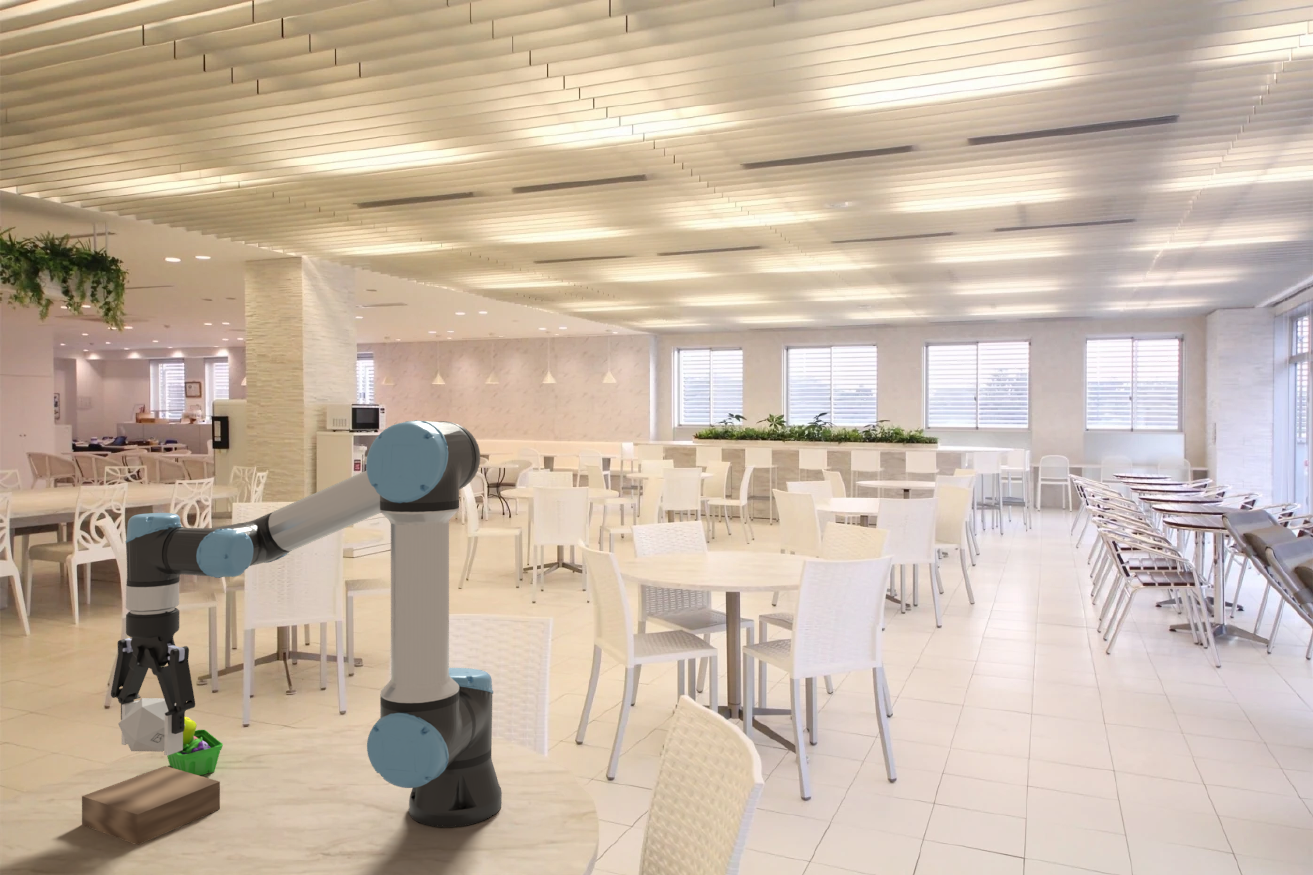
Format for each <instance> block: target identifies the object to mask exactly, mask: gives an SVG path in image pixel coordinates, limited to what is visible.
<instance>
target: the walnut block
mask: <svg viewBox="0 0 1313 875" xmlns="http://www.w3.org/2000/svg"><path fill="white" fill-rule="evenodd" d="M220 793H221V781H219V780H216V779H213V778H208V777H204V776H203V775H200V776H199V775H195V774H192V773H188V772H185V771H181V770H178V769H174V768H173V767H171V766H166V765H164V766H162V767H159V768H156V769H154V770H150V771H148V772H144V773H142V774H139V775H137V776H133V777H132V778H128V779H125V780H123V781H120V782H118V783H114V784H112V785H110V786H106V787H104V788H99V789H98V790H95V791H92V792H90V793H87V794H84V795H81V826H83V825H84V826H83V827H86V828H90V829H92V830H95V831H98V832H100V833H104V834H106V835H109V836H112V837H114V838H118V839H120V840H123V841H126V842H128V843H131V844H134V845H137V846H138V845H140V844H143V843H145V842H148V841H150V840H152V839H154V838H157V837H160V836H161V835H163V834H166V833H168V832H170V831H174V830H175V829H177V828H179V827H180V828H181V827H183V826H185V825H186V824H189V823H191V822H193V821H196V820H198V819H201V818H204V817H206V816H208V815H210V814H212V813H214V812H217V811H220V810H221V809H220V808H221V801H220V800H221V794H220Z"/></svg>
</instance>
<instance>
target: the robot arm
mask: <svg viewBox="0 0 1313 875" xmlns="http://www.w3.org/2000/svg"><path fill="white" fill-rule="evenodd" d="M365 462H366V464H365V469H366V470H365V471H363V472H360V473H358V474H355V475H353V476H351V477H349V478H346V479H344V480H342V481H339V482H337V483H335V484H332V485H331V486H328V487H326V488H323V489H322V490H321V489H320V490H318V491H317V492H314V493H313V494H310V495H308V496H305V497H303V498H301V499H299V500H296V501H294V502H292V503H289V504H287V505H285V506H283V507H280V508H278V509H276V510H274V511H272V512H269V513H267V514H264V515H263V516H260V517H258V518H256V519H252V520H249V521H245V522H238V523H233V524H229V525H227V524H226V525H221V526H215V527H205V528H203V527H200V528H199V527H198V528H197V527H183V526H182V524H181V517H180V515H178V514H177V513H173V512H153V513H152V512H150V513H140V514H135V515H132V516H131V517H130V518H129V519H128V521H127V526H126V527H127V530H126V540H125V547H126V548H125V549H126V554H125V555H126V584H125V585H126V586H125V590H126V591H125V609H126V610H128V612H127V614H125V633H126V635H127V636H128V638H123V639H120V640H117V658H116V663H115V664H116V665H115V669H114V674H113V679H112V685H111V689H110V690H111V691H110V696H111V698H113V699H117V701H118V703H119V704H120V721H121V720H122V719H123V718H124V717H125V716H126V715H127V714H128V713H129V712H130V710H131V709H132V708H133V707H134V706H135V705H136V704H137V703H138V702H139V701H140V700H141V698H142V696H140V694H139V693H140V690H141V688H142V686H143V683H144V681H145V678H146V676H147V673H148V670H149V669H150V670H151V672H152V674H153V675H154V676H156V679H157V680H158V684H159V687H160V689H161V693H162V695H163V698H164V699H165V702H166V705H167V708H168V712H166V713H165V724H164V751H163V753H164V754H163V755H164V756H168V755H171V754H173V753H176V752H179V751H181V750H183V731H184V728H185V723H184V722H185V717H186V716H185V714H186V711H188V710H190V709H193V708H195V707H196V700H195V693H194V689H193V680H192V676H191V675H192V674H191V670H190V664H189V654H190V649H189V646H187V645H184V646H181V647H180V646H177V645H176V643H175V640H174V636H175V634H176V633H177V632H178V631H179V630H180V610H179V609H178V608H177V607H178V606H179V605H180V576H182V575H184V576H185V575H186V576H196V577H197V576H200V577H201V576H202V577H210V578H216V579H217V578H218V579H221V578H230V577H231V578H234V577H238V576H241V575H243V574H244V573H245V571H246V570H247V569H249V567H252V566H255V565H259V564H263V563H265V564H267V563H268V564H269V563H272V562H275V561H277V560H279V559H282V558H284V557H285V556H287V555H289V553H290V552H291V551H294V550H297V549H299V548H302V547H304V546H306V545H308V544H311V543H313V542H316V541H318V540H320V539H322V538H323V539H324V538H325V537H328V536H329V535H332V534H335V533H337V532H339V531H341V530H344V529H346V528H348V527H350V526H354V525H355V524H358V523H360V522H362V521H364V520H365V521H366V520H367V519H369V518H371V517H375V516H376V515H379V514H382V515H383V516H384V517H385V518H386V519H387V520H388V521H389V523H390V680H389V681H388V682H387V683H386V684H385V685H384V686H383V687H382V689H381V690H380V696H379V697H380V698H379V699H380V705H379V706H380V707H379V708H380V709H379V710H380V714H379V716H380V718H379V719H378V720H377V721H376V722H375V724H374V725H373V726H372V728H371V730H370V731H369V734H368V737H367V741H366V751H367V757H368V760H369V762H370V764H371V766H372V767H373V769H374V771H375V772H376V773H377V774H379V775H380V776H381V777H382V779H383V780H384V781H386V782H387V783H388V784H391V785H393V786H396V787H399V788H403V789H411V791H410V794H409V800H408V812H409V813H408V814H409V816H410V818H412V819H413V820H414V821H415V822H418V823H419V824H423V825H425V826H430V827H437V828H454V827H456V828H457V827H464V826H468V825H469V826H470V825H474V824H477V823H480V822H484V821H485V820H487V818H488V819H490V818H491V817H493V816H494V815H496V814H497V813H498V812H499V811H500V810H501V807H502V805H503V804H502V802H503V801H502V793H503V792H502V787H501V785H500V783H499V780H498V776H497V772H496V770H495V769H496V768H495V766H494V764H493V763H494V762H493V759H492V745H493V744H492V740H493V738H492V735H493V694H494V690H493V680H492V676H491V674H489V672H487V671H486V670H483V669H482V670H481V669H478V668H467V667H450V520H451V518H453V516H454V515H456V514H457V512H458V511H459V510H460V490H461V489H463V488H465V487H467V485H468V484H470V483H471V482H472V480H473V479H474V478H475V477H476V475H477V473H478V471H479V468H480V465H481V451H480V447H479V444H478V442H477V439H476V438H475V436H474V435H473V434H472V433H471V432H470V431H469V430H468V429H467V428H465V426H462V425H461V424H457V423H456V422H452V421H446V420H445V421H442V420H440V421H430V420H429V421H427V420H417V419H415V420H408V421H407V420H406V421H403V422H399V423H396V424H392V425H390V426H388V427H387V428H385V429H384V430H382V432H380V433H379V435H378V436H376V437H375V439H374V440H373V441H372V443H371V445H370V447H369V450H368V453H367V456H366V461H365ZM138 699H139V700H138ZM175 704H176V705H175ZM121 745H123V746H127V745H128V743H127V741H126V739H125V737H124V735H123V733H122V732H121ZM492 815H493V816H492ZM490 816H491V817H490ZM489 817H490V818H489Z"/></svg>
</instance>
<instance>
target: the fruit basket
mask: <svg viewBox="0 0 1313 875" xmlns="http://www.w3.org/2000/svg"><path fill="white" fill-rule="evenodd" d="M184 723H185V728H184V731H183V750H181V751H179V752H176V753H173V754H171V755H168V756H167V755H166V756H167V760H168V761H167V762H168V763H169V764H168V765H169V767H171V768H174V769H178V770H181V771H185V772H188V773H192V774H195V775H199V776H203V775H206V774H209V773H211V774H212V773H214V772H215V771H216V768H217V763H218V760H219V758H220V757H219V756H220V754H221V751H222V749H223V745H224V744H223V742H221V741H220V740H218V739H217V738H216V737H215V736H214V735H212V734H211V733H210V732H208V730H206V729H197V727H198V726H197V725H198V724H197V722H196V721H194V720H193V719H191V718H190V717H188V716H185V722H184Z"/></svg>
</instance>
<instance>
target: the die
mask: <svg viewBox="0 0 1313 875" xmlns="http://www.w3.org/2000/svg"><path fill="white" fill-rule="evenodd" d="M139 700H140V701H139V702H138V703H137V704H136V705H135V706H134V707H133V708H132V709H131V710H130V712H129V713H128V714H127V715H126V716H125V717H124V718H123V719H122V720H121V719H120V720H119V722H118V726H119V729H120V731H121V734H122V733H123V735H124V737H125V739H126V741H127V743H128V744H127V746H128V748H129V749H130V750H129V751H130V752H153V753H154V752H161V753H164V724H165V713H166V712H168V708H167V705H166V702H165V699H164V697H161V698H160V697H158V698H156V697H155V698H154V697H153V698H152V697H149V698H147V697H141V698H140V699H139ZM175 705H176V703H175Z"/></svg>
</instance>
